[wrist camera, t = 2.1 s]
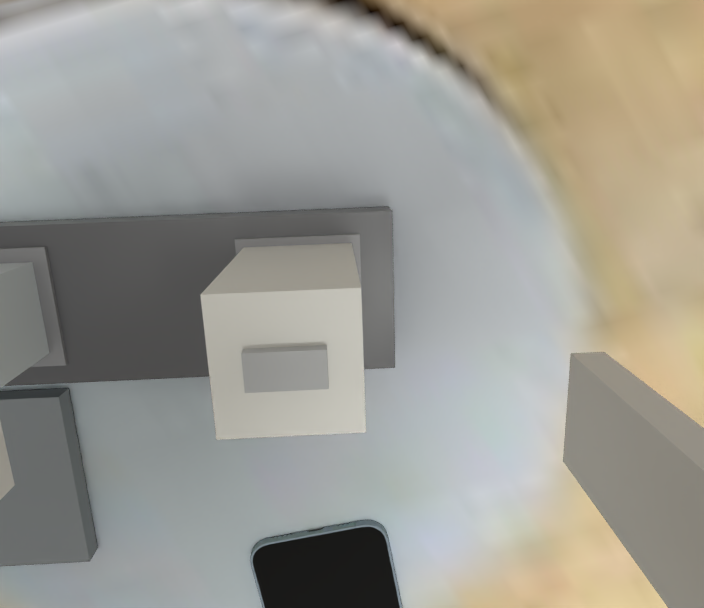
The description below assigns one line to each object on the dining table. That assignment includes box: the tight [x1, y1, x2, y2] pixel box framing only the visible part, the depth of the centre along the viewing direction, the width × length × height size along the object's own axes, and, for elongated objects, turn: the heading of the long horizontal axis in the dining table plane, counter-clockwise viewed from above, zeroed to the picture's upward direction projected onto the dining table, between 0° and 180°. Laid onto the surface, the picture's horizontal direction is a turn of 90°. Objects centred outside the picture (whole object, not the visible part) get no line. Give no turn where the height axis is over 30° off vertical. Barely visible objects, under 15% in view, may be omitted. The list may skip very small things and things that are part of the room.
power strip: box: [0, 207, 395, 386], centre depth 25 cm, size 26×7×2 cm, turn 92°
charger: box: [200, 243, 366, 440], centre depth 20 cm, size 4×4×8 cm
